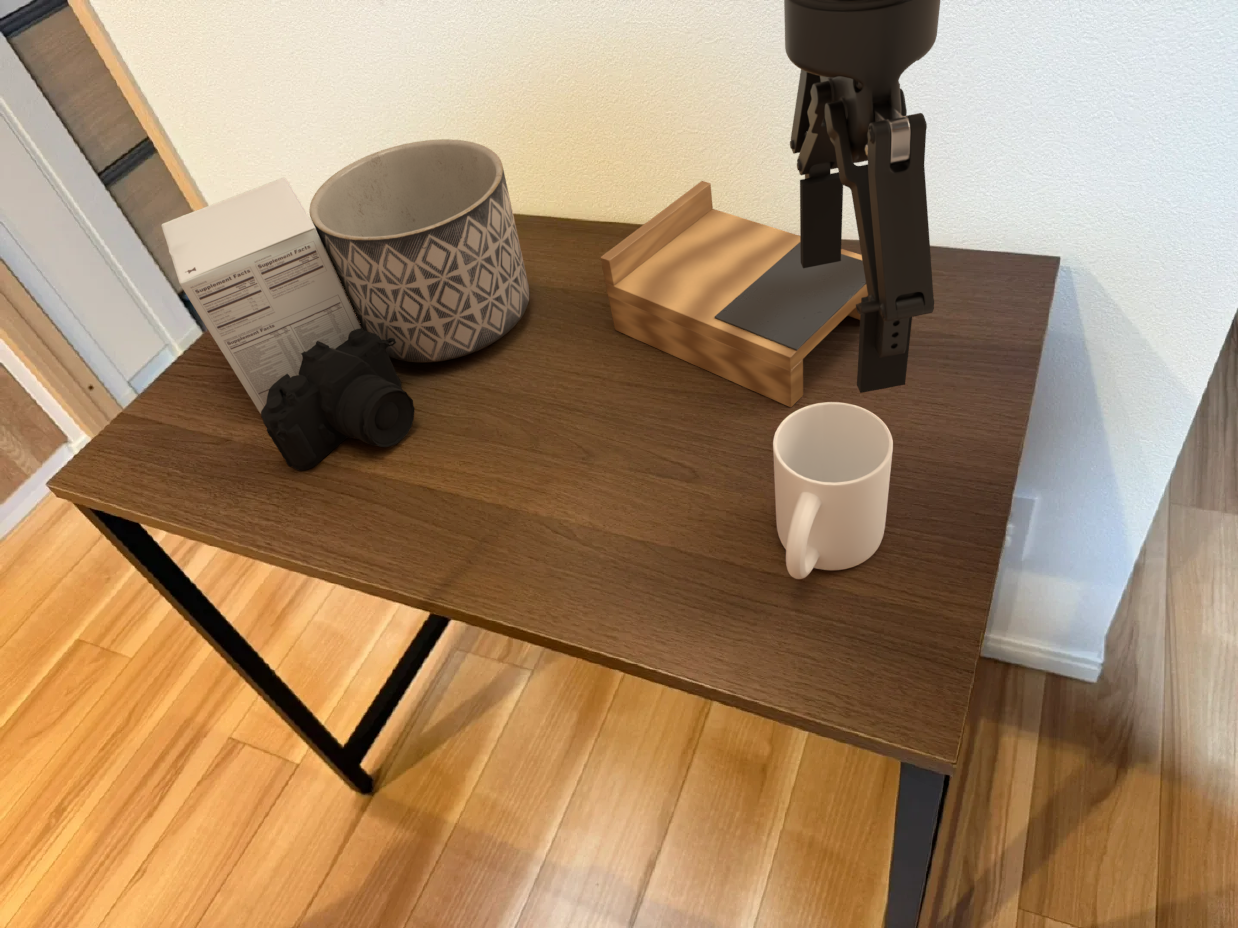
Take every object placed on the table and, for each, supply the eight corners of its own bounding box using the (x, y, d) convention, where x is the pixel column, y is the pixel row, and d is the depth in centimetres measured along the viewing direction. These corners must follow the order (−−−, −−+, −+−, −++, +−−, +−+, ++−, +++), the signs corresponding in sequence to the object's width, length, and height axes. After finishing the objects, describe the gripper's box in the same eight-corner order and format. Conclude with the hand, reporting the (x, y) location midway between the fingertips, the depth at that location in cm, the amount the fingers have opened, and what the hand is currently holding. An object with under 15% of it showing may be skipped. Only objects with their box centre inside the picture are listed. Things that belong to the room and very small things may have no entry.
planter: (380, 399, 89) (318, 261, 77) (356, 302, 102) (301, 172, 91) (557, 341, 92) (524, 199, 80) (512, 254, 105) (478, 121, 93)
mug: (845, 628, 63) (849, 540, 56) (740, 589, 67) (731, 502, 59) (898, 510, 70) (909, 417, 62) (800, 481, 73) (799, 390, 66)
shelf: (883, 314, 86) (890, 235, 80) (791, 408, 79) (789, 329, 73) (708, 253, 98) (701, 180, 92) (614, 330, 91) (600, 257, 85)
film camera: (340, 499, 80) (300, 430, 74) (277, 463, 85) (234, 395, 79) (452, 399, 88) (424, 328, 81) (388, 371, 93) (357, 302, 86)
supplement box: (383, 370, 93) (317, 226, 80) (264, 423, 90) (176, 283, 77) (350, 311, 102) (285, 174, 89) (240, 358, 99) (158, 222, 86)
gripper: (734, -86, 51) (751, 230, 66) (863, 88, 34) (846, 462, 49) (861, -113, 51) (849, 211, 66) (1057, 49, 33) (979, 437, 49)
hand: (848, 318), depth 58 cm, fingers open, 13 cm apart
